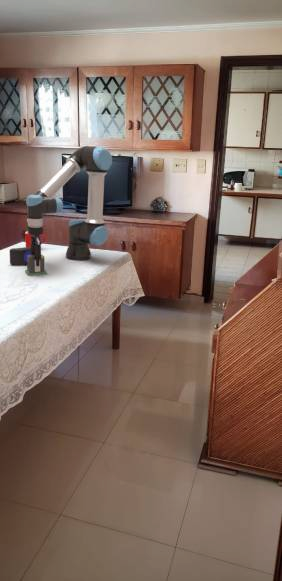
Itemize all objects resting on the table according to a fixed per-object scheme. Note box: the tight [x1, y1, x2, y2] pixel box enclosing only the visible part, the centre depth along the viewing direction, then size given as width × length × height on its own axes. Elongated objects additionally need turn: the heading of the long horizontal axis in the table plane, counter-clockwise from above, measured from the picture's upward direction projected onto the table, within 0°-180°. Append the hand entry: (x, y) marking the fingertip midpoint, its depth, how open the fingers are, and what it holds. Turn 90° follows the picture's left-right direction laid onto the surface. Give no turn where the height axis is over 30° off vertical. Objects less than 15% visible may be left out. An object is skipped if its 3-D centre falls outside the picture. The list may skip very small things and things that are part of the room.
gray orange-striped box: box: [26, 253, 46, 273], centre depth 235 cm, size 8×5×8 cm, turn 116°
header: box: [24, 269, 48, 277], centre depth 236 cm, size 10×7×6 cm
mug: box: [24, 230, 46, 247], centre depth 285 cm, size 12×8×11 cm
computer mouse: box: [9, 246, 32, 267], centre depth 250 cm, size 16×5×9 cm, turn 123°
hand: (36, 270), depth 236 cm, fingers closed on gray orange-striped box, 5 cm apart
